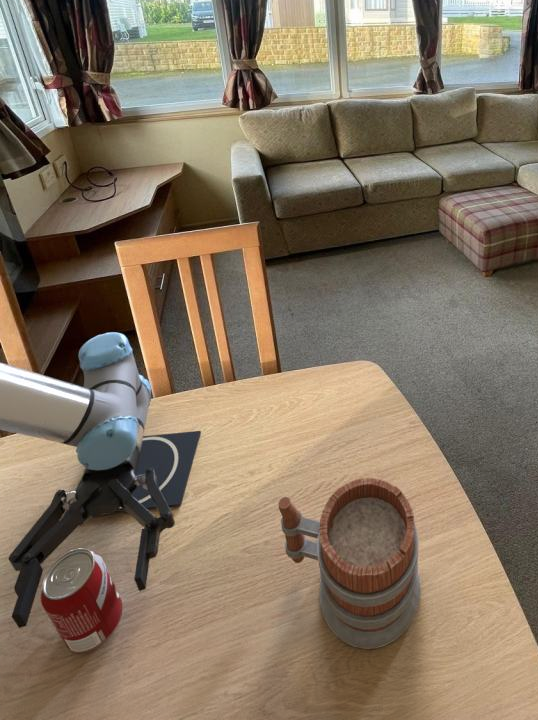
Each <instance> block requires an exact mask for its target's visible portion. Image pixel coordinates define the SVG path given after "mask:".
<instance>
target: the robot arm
mask: <svg viewBox="0 0 538 720" xmlns="http://www.w3.org/2000/svg"><path fill="white" fill-rule="evenodd" d="M133 351H134V350H133V348H132V347H131V344H130V342H129V339H128V337H127V336H126V335H125V334H124V333H120V332H116V331H115V332H114V331H111V332H105V333H102V334H98V335H95V336H94V337H92V338H90V339H89V340H87V341H86V342H85V343H83V345H82V346H81V347H80V349H79V350H78V360H79V364H80V365H79V367H80V369H81V370H82V372H83V376H84V379H83V380H84V381H83V386H80V385H77V384H75V383H71V382H68V381H64V380H60V379H58V378H54V377H51V376H48V375H44V374H41V373H38V372H34V371H31V370H27V369H25V368H21V367H17V366H14V365H11V364H7V363H4V362H1V361H0V431H5V432H9V433H14V434H18V435H23V436H27V437H32V438H37V439H42V440H45V441H50V442H54V443H59V444H62V445H67V446H70V447H75V448H76V449H75V452H76V454H77V460H78V462H79V463H80V464H81V465H82V466H84V471H83V474H82V476H83V478H82V477H81V478H82V484H81V486H80V487H79V488H78V489H77V488H76V489H77V491H76V490H74V491H69V492H68V491H67V492H66V491H65V490H64V489H63V488H61V489H58V490H57V491H56V492H55V493H54V495H53V498H52V499H51V502H50V504H49V506H48V507H47V508H46V509H45V510H44V512H43V513H42V514H41V516H40V517H39V518H38V519H37V520H36V522H35V523H34V524H33V526H32V527H31V528H30V529H29V530H28V532H27V533H26V534H25V535H24V537H23V538H22V539H21V541H19V543H18V544H17V546H16V547H15V548H14V549H13V551H12V552H11V553H10V555H9V556H8V561H9V563H10V565H11V566H12V567H13V569H14V571H16V572H18V575H17V578H16V581H15V584H14V587H13V588H14V589H13V590H14V592H15V594H16V596H17V598H16V602H15V605H14V607H13V610H12V613H11V618H12V620H13V621H14V624H16V626H17V627H18V629H21V628H24V627H27V624H28V620H29V617H30V615H31V611H32V608H33V605H34V601H35V598H36V594H37V591H38V588H39V586H40V582H41V578H42V575H43V573H44V568H43V566H42V564H43V563H44V562H45V561H46V560H47V559H48V558H49V557H50V556H51V555H52V554H53V553H54V552H55V551H56V549H57V548H58V547H60V545H61V544H63V542H64V541H66V539H67V538H68V537H69V536H70V535H71V534H72V533H73V532H75V530H76V529H78V527H79V526H83V525H84V524H85V523H86V522H87V521H88V520H89V519H90V518H92V519H94V518H99V517H100V516H102V515H108V514H115V513H114V512H116V510H117V509H118V508H120V507H122V508H123V509H124V510H125V511H126V512H125V513H128V514H129V515H130V517H132V518H133V519H134V520H135V521H136V522H137V523H139V524H140V525H141V526H142V528H141V532H140V540H139V545H138V553H137V559H136V565H135V573H134V579H133V580H134V582H135V584H136V587H137V589H138V591H139V592H141V591H145V590H146V588H147V581H148V573H149V566H150V559H155V558H156V557H157V556H158V552H159V544H160V536H161V534H162V532H163V531H165V530H166V529H172V528H173V527H174V526H175V524H176V520H175V517H174V516H173V512H172V510H171V507H169V506H168V504H167V502H166V500H165V498H164V497H163V495H162V493H161V491H160V489H159V487H158V485H157V477H156V474H155V471H154V468H153V467H149V468H148V469H147V470H146V472H145V473H144V474H142V475H139V476H136V475H137V470H138V464H139V458H140V452H141V446H142V441H143V436H145V429H146V423H147V418H148V413H149V407H150V405H151V402H152V396H151V392H152V387H151V383H150V381H149V380H148V379H146V378H145V377H144V376H143V375H141V374H139V369H138V368H137V367H138V366H137V363H136V359H135V356H134V353H133ZM138 485H141V486H142V488H143V489H146V490H148V491H149V494H150V496H151V498H152V500H153V502H154V504H155V506H156V508H155V509H156V510H157V511H158V514H159V515H160V516H158V517H157V515H154V514H153V513H152V512H150V510H149V509H146V508H145V507H144V506H143V505H142V504H141V503H139V502H138V501H137V500H136V499H135V498H134V497H133V496H132V495H131V494H132V493H133V492H134V490H135V489H136V488H137V486H138ZM75 501H76V502H75ZM73 502H75V503H74V504H73V505H72V506H71V507H69V506H70V505H71V504H72V503H73ZM81 508H82V510H83V511H84V512H83V513H82V514H81V513H80V509H81ZM66 510H68V513H67V514H66V515H65V516H64V514H65V511H66ZM63 516H64V517H63Z"/></svg>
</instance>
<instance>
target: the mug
mask: <svg viewBox="0 0 538 720" xmlns="http://www.w3.org/2000/svg"><path fill="white" fill-rule="evenodd" d="M277 506H278V510H279V511H280V515H281V519H280V525H281V530H282V533H283V534H284V537H285V538H284V539H285V542H284V550H285V554H286V555H287V557H288V558H290V559H291V560H292V561H293V562H294V563H295V564H300V563H302V562H303V561H304V559H305V558H308V559H311V560H315V561H318V567H319V575H320V577H319V578H320V580H319V588H318V589H319V590H318V591H319V592H318V595H319V606H320V608H321V612H322V616H323V618H324V620H325V622H326V624H327V626H328V627H329V629H330V630H331V631H332V633H334V635H335V636H337V637H338V638H339V639H340V640H341V641H342V642H344V643H346V644H348V645H350V646H352V647H354V648H360V649H364V650H367V649H378V648H381V647H384V646H388V645H389V644H391V643H392V642H394V641H396V640H398V638H400V636H402V635H403V634H404V633H405V632H406V631H407V629H408V628H409V626H410V625H411V624H412V622H413V620H414V618H415V615H416V614H417V612H418V608H419V604H420V600H421V589H422V588H421V577H420V574H419V564H418V559H419V558H418V557H419V533H418V529H417V525H416V522H415V516H414V512H413V508H412V506H411V504H410V502H409V500H408V498H407V497H406V495H404V494H403V491H402V490H401V489H400V488H399V487H398V486H396V485H393V484H391V483H389V482H387V481H385V480H382V479H378V478H374V477H363V478H358V479H356V480H352V481H350V482H347V483H346V484H344V485H342V486H341V487H338V488H337V489H336V490H335V491H334V492H333V493H332V494H331V495H330V497H329V498H328V500H327V501H326V503H325V506H324V507H323V508H322V509H323V510H322V512H321V516H320V519H319V520H316V519H312V518H309V517H306V516H303V513H302V512H301V510H299V509H297V508H296V505H295V503H294V504H293V502H291V499H290V498H289V497H288V496H283V497H281V498H280V499H279V501H278V505H277ZM306 537H310V538H314V539H317V541H314V540H312V539H307V538H306Z"/></svg>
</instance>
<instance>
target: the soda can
mask: <svg viewBox="0 0 538 720" xmlns="http://www.w3.org/2000/svg"><path fill="white" fill-rule="evenodd" d="M41 582H42V583H41V592H40V603H41V606H42V608H43V610H44V611H45V613H46V614H47V616H48V618H49V619H50V622H51V623H52V624H53V626H54V628H55V629H56V632H57V633H58V634H59V637H61V639H62V640H61V641H62V642H63V643H64V645H65V646H66V648H67V649H68V650H69V651H70V652H72V653H75V654H85V653H89V652H92V651H93V650H95V649H97V648H99V647H100V646H102V645H103V644H104V643H105V642H106V641H107V640H108V639H109V638H110V637H111V636H112V635H113V633H114V632H115V631H116V629H117V627H118V626H119V623H120V621H121V618H122V616H123V600H122V598H121V596H120V594H119V592H118V589H117V587H116V585H115V582H114V581H113V579H112V577H111V575H110V572H109V570H108V568H107V566H106V563H105V561H104V559H103V558H102V556H101V555H100V554H99V553H98V552H95V551H93V550H90V549H88V548H83V547H82V548H81V547H79V548H78V547H77V548H74V549H72V550H69V551H66V552H65V553H63V554H62V555H61V556H59V557H58V558H57V559H56V560H55V561H54V562H53V563H52V564H51V565H50V566H49V567H48V569H47V570H46V572H45V574H44V576H43V579H42V581H41Z"/></svg>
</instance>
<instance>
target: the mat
mask: <svg viewBox="0 0 538 720" xmlns="http://www.w3.org/2000/svg"><path fill="white" fill-rule="evenodd" d="M201 433H202V431H201V430H194V431H183V432H182V431H181V432H173V433H163V434H151V435H143V441H142V446H141V452H140V458H139V464H138V470H137V475H136V476H139V475H142V474H144V473H145V472H146V470H147V469H148V468H149V467H153V468H154V471H155V474H156V477H157V485H158V487H159V489H160V491H161V493H162V495H163V497H164V498H165V500H166V502H167V504H168V506H169V508H172V507H181V506H182V503H183V499H184V496H185V492H186V488H187V484H188V480H189V477H190V475H191V471H192V467H193V462H194V460H195V455H196V453H197V452H196V451H197V448H198V444H199V440H200V438H201ZM82 478H83V475H82V476H81V478H80V481H79V482H78V484H77V487H76V489H75V491H77V489H78V488H79V487H80V486H81V484H82ZM131 495H132V496H133V497H134V498H135V499H136V500H137V501H138V502H139V503H141V504H142V505H143V506H144V507H145V508H146V509H147V510H153V509H155V510H156V509H157V508H156V506H155V504H154V502H153V500H152V498H151V496H150V494H149V491H148V490H146V489H143V488H142V486H141V485H138V486H137V488H136V489H135V490H134V492H133V493H132V494H131ZM75 502H76V501H75ZM75 502H73V503H72V504H71V505H70V506H69V507H71V506H72V505H73V504H74V503H75ZM83 512H84V511H83V510H82V508H81V509H80V513H81V514H82V513H83ZM67 513H68V510H65V512H64V514H63V516H62V518H63V517H64V516H65V515H66V514H67ZM119 513H127V512H126V511H125V510H124V509H123V508H122V507H120V508H118V509H117V510H116V512H114V513H113V514H119Z"/></svg>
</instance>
